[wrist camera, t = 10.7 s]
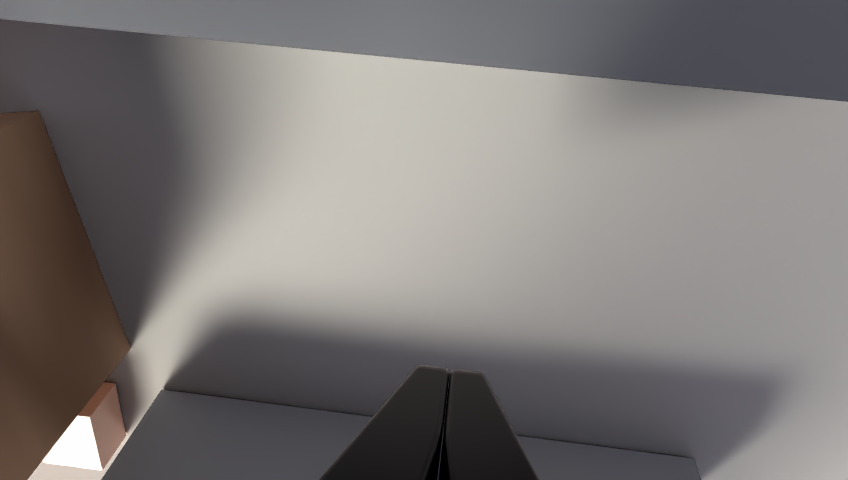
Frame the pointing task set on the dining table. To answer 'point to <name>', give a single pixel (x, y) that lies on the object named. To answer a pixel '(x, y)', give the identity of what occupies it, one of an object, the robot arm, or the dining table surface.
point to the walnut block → (46, 301)
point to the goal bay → (91, 433)
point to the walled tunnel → (472, 45)
